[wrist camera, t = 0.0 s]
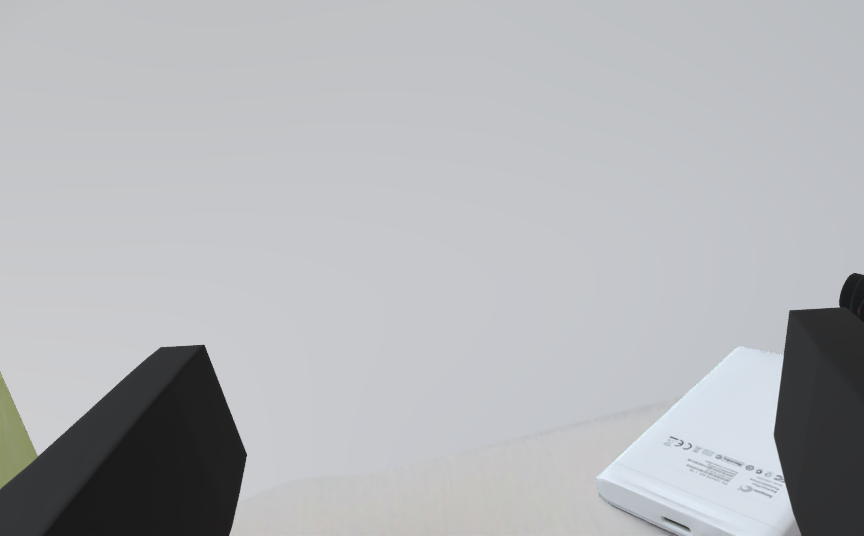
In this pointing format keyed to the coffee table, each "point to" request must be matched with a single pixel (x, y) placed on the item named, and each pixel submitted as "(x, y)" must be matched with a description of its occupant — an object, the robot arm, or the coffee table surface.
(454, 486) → the coffee table surface
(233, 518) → the robot arm
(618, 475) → the hard drive
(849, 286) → the gun
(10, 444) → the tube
